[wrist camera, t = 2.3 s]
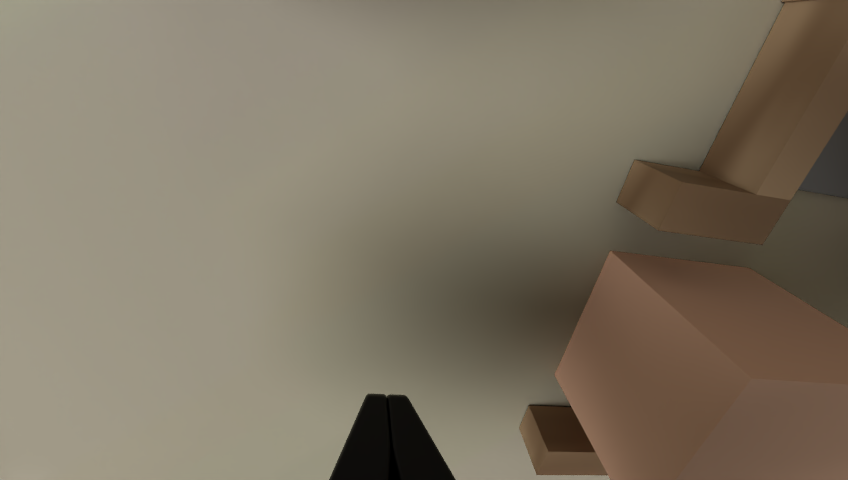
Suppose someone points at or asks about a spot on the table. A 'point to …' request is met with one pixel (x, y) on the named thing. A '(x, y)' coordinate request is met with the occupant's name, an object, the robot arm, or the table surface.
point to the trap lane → (737, 176)
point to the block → (706, 375)
